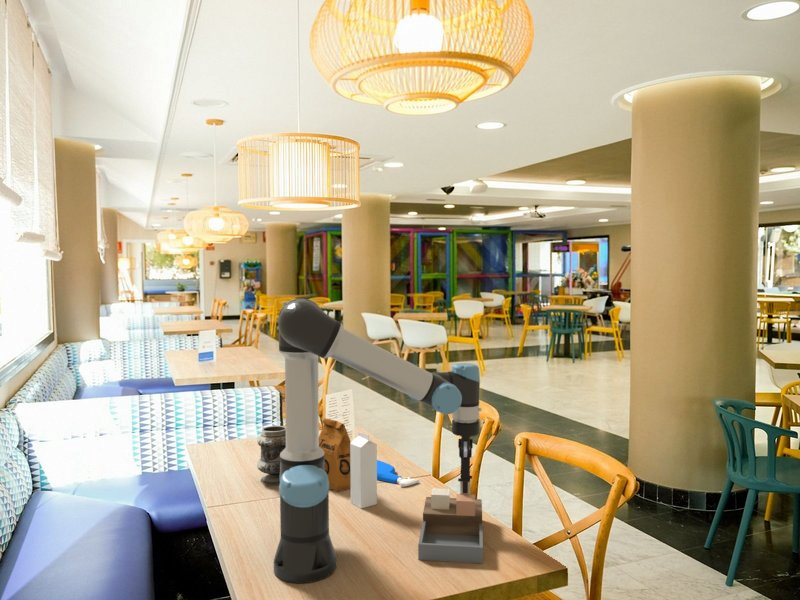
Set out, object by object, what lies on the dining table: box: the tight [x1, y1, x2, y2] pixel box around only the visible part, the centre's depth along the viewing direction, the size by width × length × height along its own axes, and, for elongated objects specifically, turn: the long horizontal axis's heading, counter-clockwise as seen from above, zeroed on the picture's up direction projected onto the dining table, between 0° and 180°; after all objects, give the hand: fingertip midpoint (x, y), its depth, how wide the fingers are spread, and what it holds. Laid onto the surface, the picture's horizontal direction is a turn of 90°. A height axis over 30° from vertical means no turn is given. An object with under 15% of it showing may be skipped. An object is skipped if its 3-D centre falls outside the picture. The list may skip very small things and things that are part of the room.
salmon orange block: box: [456, 493, 476, 516], centre depth 165 cm, size 5×5×4 cm
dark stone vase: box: [256, 425, 286, 486], centre depth 207 cm, size 12×12×18 cm
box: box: [417, 520, 484, 564], centre depth 157 cm, size 14×16×4 cm
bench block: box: [422, 496, 483, 536], centre depth 170 cm, size 12×16×6 cm
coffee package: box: [319, 417, 352, 492], centre depth 202 cm, size 10×12×22 cm
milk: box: [350, 431, 378, 509], centre depth 186 cm, size 6×6×22 cm
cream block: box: [430, 487, 451, 510], centre depth 170 cm, size 5×5×4 cm
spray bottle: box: [377, 459, 420, 488], centre depth 211 cm, size 3×11×24 cm
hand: (465, 502), depth 169 cm, fingers closed
